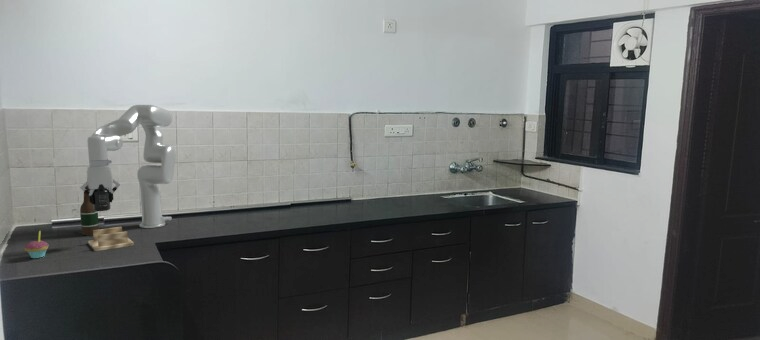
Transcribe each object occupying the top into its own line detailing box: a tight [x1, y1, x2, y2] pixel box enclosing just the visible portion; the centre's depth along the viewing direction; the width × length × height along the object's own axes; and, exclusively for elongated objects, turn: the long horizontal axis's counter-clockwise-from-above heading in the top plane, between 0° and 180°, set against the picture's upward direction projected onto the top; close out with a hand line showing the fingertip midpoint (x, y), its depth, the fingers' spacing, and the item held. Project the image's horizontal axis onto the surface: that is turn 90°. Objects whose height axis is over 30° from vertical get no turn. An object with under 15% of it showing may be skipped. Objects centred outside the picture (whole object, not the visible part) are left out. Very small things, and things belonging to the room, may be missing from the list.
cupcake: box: [24, 230, 50, 258], centre depth 230 cm, size 9×8×12 cm
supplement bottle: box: [92, 184, 111, 212], centre depth 249 cm, size 7×7×12 cm
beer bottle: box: [79, 186, 100, 237], centre depth 269 cm, size 8×8×24 cm
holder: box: [88, 226, 135, 252], centre depth 251 cm, size 16×16×6 cm
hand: (101, 202), depth 249 cm, fingers closed on supplement bottle, 6 cm apart
